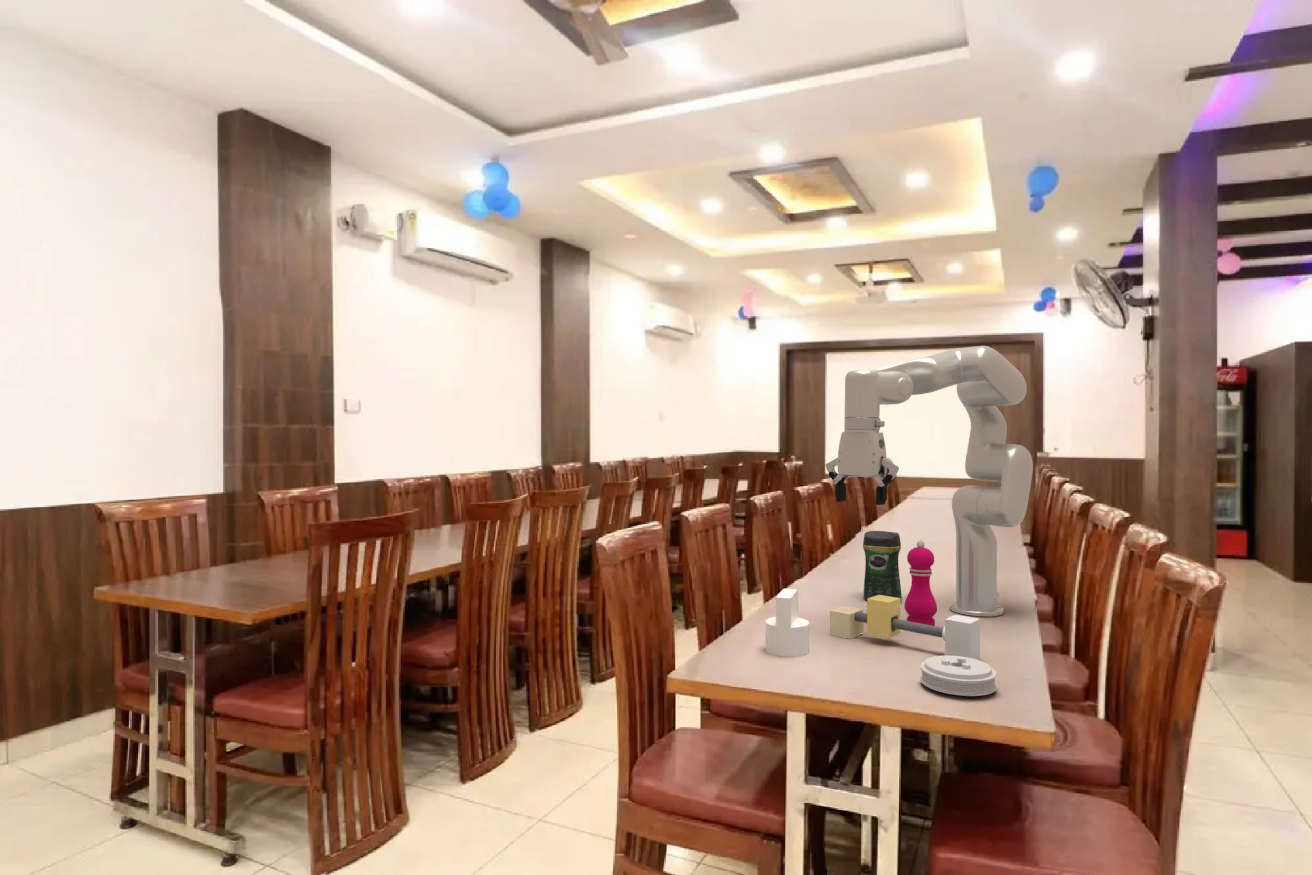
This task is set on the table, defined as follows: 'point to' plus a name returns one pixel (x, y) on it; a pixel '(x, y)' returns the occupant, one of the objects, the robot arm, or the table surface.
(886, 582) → the coffee jar
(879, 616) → the pale yellow upright block
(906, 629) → the slider rail
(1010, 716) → the table surface
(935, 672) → the lid
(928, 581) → the pepper mill
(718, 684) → the table surface
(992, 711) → the table surface
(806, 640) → the base with upright slab
